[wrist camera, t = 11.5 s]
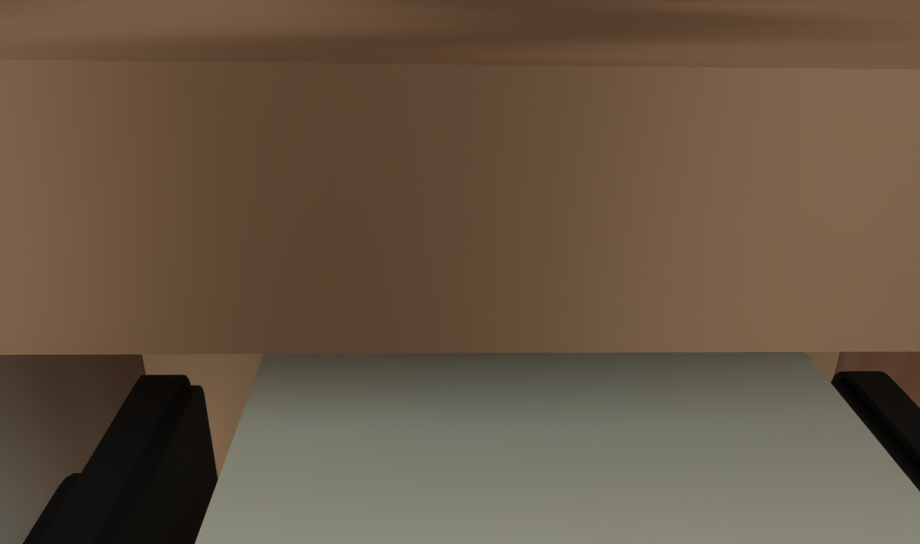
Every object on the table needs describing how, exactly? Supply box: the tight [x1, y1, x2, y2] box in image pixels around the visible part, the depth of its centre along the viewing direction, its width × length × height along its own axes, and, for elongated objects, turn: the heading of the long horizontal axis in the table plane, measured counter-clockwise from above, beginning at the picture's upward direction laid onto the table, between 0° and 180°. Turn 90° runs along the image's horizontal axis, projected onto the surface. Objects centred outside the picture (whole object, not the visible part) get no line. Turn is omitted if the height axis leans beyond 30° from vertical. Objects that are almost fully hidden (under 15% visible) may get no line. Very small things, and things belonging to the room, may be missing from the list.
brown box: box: [0, 0, 920, 479], centre depth 10 cm, size 18×14×11 cm
